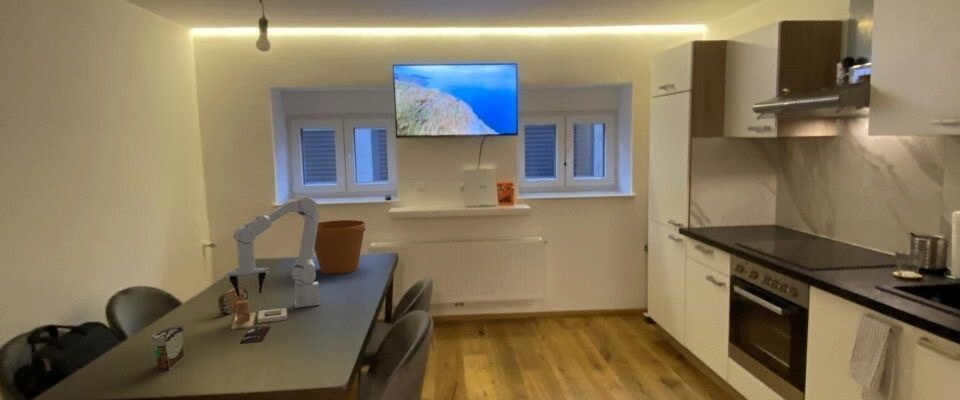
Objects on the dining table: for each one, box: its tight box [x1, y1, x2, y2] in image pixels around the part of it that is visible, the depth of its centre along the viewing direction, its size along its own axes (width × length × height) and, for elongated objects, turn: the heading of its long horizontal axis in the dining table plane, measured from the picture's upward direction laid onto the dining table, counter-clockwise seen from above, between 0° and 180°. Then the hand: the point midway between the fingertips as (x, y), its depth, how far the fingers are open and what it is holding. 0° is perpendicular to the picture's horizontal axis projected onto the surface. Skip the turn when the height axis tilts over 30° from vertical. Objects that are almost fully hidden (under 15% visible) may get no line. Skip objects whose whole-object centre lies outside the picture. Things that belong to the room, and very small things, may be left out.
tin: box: [217, 286, 249, 315], centre depth 213 cm, size 15×3×8 cm, turn 168°
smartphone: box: [239, 325, 271, 345], centre depth 185 cm, size 7×1×15 cm
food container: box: [150, 324, 185, 371], centre depth 162 cm, size 12×6×10 cm, turn 5°
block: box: [236, 299, 251, 322], centre depth 199 cm, size 4×4×7 cm
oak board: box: [230, 312, 257, 331], centre depth 199 cm, size 7×16×1 cm, turn 19°
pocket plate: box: [257, 307, 288, 324], centre depth 204 cm, size 10×10×2 cm
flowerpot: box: [314, 219, 366, 275], centre depth 276 cm, size 28×28×24 cm
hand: (249, 294), depth 202 cm, fingers open, 7 cm apart
